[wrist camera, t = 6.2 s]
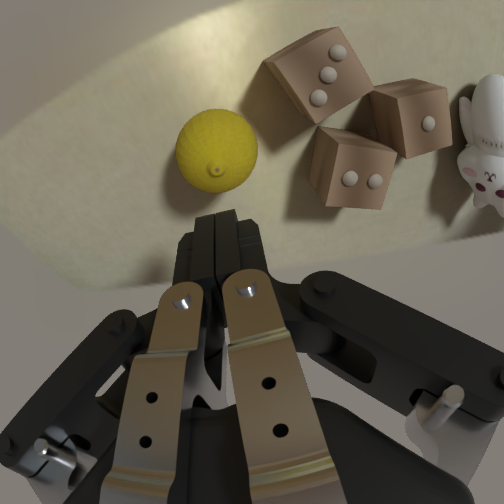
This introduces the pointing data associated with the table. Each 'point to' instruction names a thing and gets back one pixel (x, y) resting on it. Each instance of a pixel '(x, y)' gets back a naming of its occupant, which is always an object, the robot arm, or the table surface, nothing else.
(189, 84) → the table surface
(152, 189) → the table surface
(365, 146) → the block two dots
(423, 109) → the block one dot
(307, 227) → the table surface
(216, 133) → the lemon
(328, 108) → the block three dots
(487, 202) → the cat figurine
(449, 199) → the table surface
